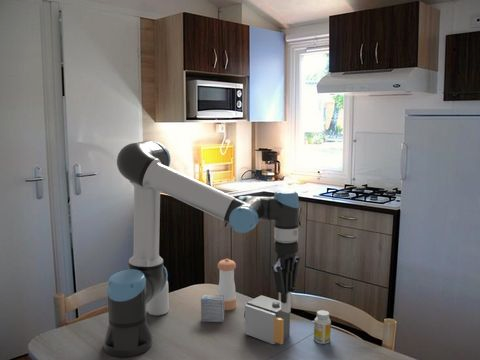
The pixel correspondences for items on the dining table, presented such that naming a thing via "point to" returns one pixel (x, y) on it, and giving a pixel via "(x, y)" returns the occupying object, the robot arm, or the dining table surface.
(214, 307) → the medicine box
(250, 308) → the side door
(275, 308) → the grey cabinet
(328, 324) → the supplement bottle
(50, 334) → the dining table surface
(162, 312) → the pill bottle
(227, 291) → the pepper shaker
